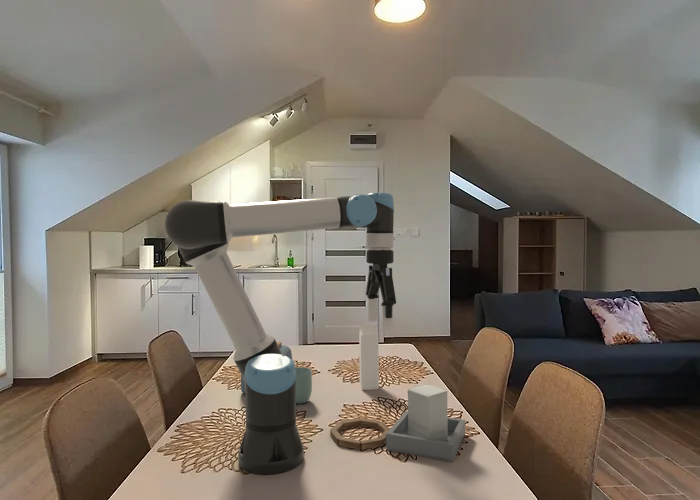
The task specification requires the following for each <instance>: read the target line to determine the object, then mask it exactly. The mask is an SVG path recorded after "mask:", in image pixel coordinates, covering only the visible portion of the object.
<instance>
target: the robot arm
mask: <svg viewBox="0 0 700 500" xmlns="http://www.w3.org/2000/svg"><path fill="white" fill-rule="evenodd" d="M394 204H395V203H394V197H393V195H392V194H391V193H389V192H388V193H387V192H370V193H368V194H359V193H358V194H357V193H356V194H354V195H349V196H347V195H346V196H338V197H335V196H334V197H319V198H307V199H306V198H305V199H304V198H303V199H291V200H277V201H262V202H249V203H246V202H245V203H235V204H234V203H233V204H230V203H229V202H227V201H226V200H211V201H210V200H196V199H195V200H194V199H186V200H183V201H180V202H177V203H176V204H174V205H173V206H172V207H171V208H170V209H169V210H168V212H167V214H166V216H165V218H164V230H165V233H166V235H167V238H168V239H169V240H170V241H171V242H172V243H173V244H174V245H175V246H177V248H178V251H179V252H180V255H181V256H182V259H183V260H184V262H185V264H187V265H189V266H191V267H194V269H195V270H196V272H197V275H198V276H199V279H200V280H201V283H202V284H203V287H204V289H205V290H206V293H207V294H208V297H209V298H210V300H211V303H212V304H213V307H214V309H215V310H216V313H217V314H218V317H219V319H220V321H221V322H222V325H223V327H224V329H225V331H226V332H227V335H228V336H229V337H228V338H229V339H230V341H231V343H232V345H233V347H234V349H235V352H234V355H233V361H234V363H235V364H236V365H235V366H236V367H237V369H238V371H239V373H240V376H241V375H242V377H243V380H244V383H245V393H244V394H245V396H244V397H245V431H244V433H243V436H242V439H241V442H240V446H239V449H238V465H239V467H240V468H241V469H243V470H244V471H246V472H249V473H252V474H256V475H273V474H279V473H283V472H287V471H290V470H293V469H294V468H297V466H299V465H300V464H301V463H302V462H303V460H304V457H305V456H304V454H305V453H304V452H305V451H304V450H305V449H304V444H303V442H302V439H301V436H300V432H299V429H298V427H297V409H296V408H297V407H296V406H297V404H296V383H295V380H296V370H295V368H296V365H295V362H294V360H293V358H292V359H291V358H289V357H287V356H284V355H283V354H282V353H281V351H280V349H279V346H278V344H277V343H276V342H277V341H276V339H275V337H274V336H272V335H269V334H267V333H266V331H265V330H264V328H263V324H262V323H261V321H260V319H259V317H258V315H257V312H256V310H255V309H254V307H253V304H252V303H251V300H250V298H249V295H248V294H247V291H246V290H245V288H244V286H243V284H242V282H241V280H240V277H239V276H238V273H237V271H236V270H235V267H234V265H233V263H232V261H231V259H230V257H229V255H228V253H227V251H228V249H229V246H230V244H229V242H230V241H231V240H232V239H233V238H242V237H243V238H244V237H253V236H264V235H277V234H285V233H287V234H288V233H296V232H298V233H299V232H308V231H319V230H329V229H332V230H333V229H344V228H347V229H349V228H350V229H351V228H353V229H355V228H362V229H363V228H365V229H366V236H365V239H366V242H365V243H366V244H365V247H366V248H367V250H366V253H365V254H366V259H365V260H366V263H367V264H370V265H368V274H367V275H368V276H367V282H366V291H365V296H367V305H368V306H367V321H368V322H378V320H379V318H378V315H379V313H378V311H379V309H378V307H379V290H380V295H381V298H382V302H381V304H380V306H381V315H382V316H381V317H382V320H381V321H382V322H381V323H382V324H381V326H382V327H381V330H382V331H394V327H393V325H394V320H393V319H394V305H396V304H397V298H396V292H395V286H394V279H393V268H392V267H389V266H388V264H393V263H394V254H395V253H394V252H395V251H394V250H393V248H394V241H395V240H396V238H395V237H394V224H395V223H394V222H395V221H394V220H395V219H394V218H395V217H394V216H395V207H394V206H395V205H394Z"/></svg>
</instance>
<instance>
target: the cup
mask: <svg viewBox="0 0 700 500" xmlns="http://www.w3.org/2000/svg"><path fill="white" fill-rule="evenodd" d="M295 370H296V380H295V383H296V405H297V404H298V405H301V404H302V405H303V404H306V403H307V402H308V401H310V398H311V396H312V390H313V389H312V388H313V371H312V368H310V367H304V366H303V367H301V366H298V367H296V366H295Z"/></svg>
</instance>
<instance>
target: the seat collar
mask: <svg viewBox="0 0 700 500" xmlns="http://www.w3.org/2000/svg"><path fill="white" fill-rule="evenodd" d="M359 426H360V427H367V428H371V429H372V428H373V429H377V430H378V431H380V432H381V435H380V436H379V437H374V438H368V439H363V440H358V439H354V438H347V437H343V436H342V435H341V432H342V431H343V430H344V429H349V428H355V427H359ZM390 429H391V428H390V427H389V426H387V424H385V423H384V422H383V421H381V420H375V419H369V418H364V417H362V418H360V417H358V418H352V419H347V420H341V421H338V422H337V423H336V424H335V425H333V427H331V428H330V430H329V436H330V438H331V439H332V440H333V441H334V443H335V444H336V445H337V446H339V447H344V448H350V449H355V450H366V449H372V448H377V447H383V446H384V445H385V444H386V433H387V432H388V431H389V430H390ZM385 446H386V445H385Z"/></svg>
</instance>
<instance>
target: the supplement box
mask: <svg viewBox="0 0 700 500" xmlns="http://www.w3.org/2000/svg"><path fill="white" fill-rule="evenodd" d="M407 411H408V435H410V436H416V437H421V438H427V439H433V440H439V441H446V440H448V417H449V416H448V390H445V389H443V388H439V387H437V386H434V385H430V384H428V383H427V384H423V385H419V386H416V387H412V388H409V389H407Z"/></svg>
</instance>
